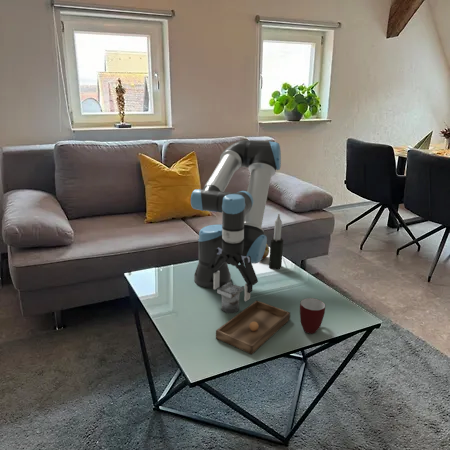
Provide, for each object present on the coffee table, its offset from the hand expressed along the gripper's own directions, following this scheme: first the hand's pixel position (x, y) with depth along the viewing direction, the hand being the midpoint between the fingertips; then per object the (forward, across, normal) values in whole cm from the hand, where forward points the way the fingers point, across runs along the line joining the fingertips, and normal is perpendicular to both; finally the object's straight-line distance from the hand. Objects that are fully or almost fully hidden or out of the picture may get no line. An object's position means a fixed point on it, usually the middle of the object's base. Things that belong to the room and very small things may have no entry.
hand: (231, 293), depth 150 cm
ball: (+3, +15, -7) cm, 17 cm away
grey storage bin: (+6, 0, -1) cm, 6 cm away
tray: (+5, +14, -7) cm, 17 cm away
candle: (+7, -5, +41) cm, 42 cm away
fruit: (+7, -15, +45) cm, 48 cm away
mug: (+6, +29, +5) cm, 30 cm away
